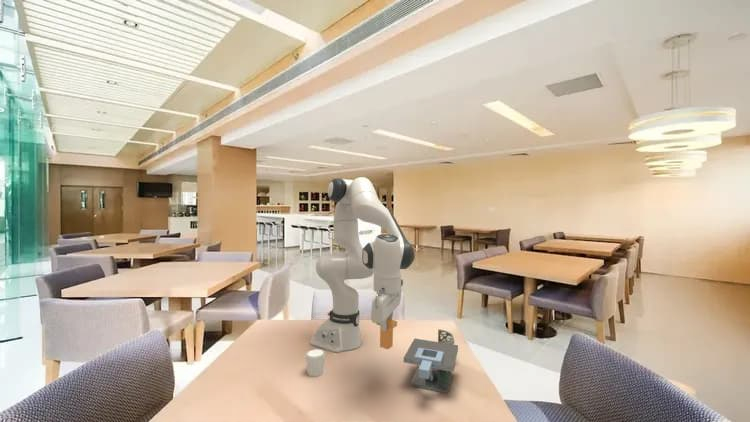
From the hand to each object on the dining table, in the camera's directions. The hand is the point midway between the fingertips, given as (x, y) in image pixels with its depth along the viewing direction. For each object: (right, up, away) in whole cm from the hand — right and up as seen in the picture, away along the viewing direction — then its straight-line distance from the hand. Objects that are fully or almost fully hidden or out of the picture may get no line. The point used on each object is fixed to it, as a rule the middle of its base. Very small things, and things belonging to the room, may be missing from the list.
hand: (386, 327), depth 100 cm
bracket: (+13, -12, -2) cm, 18 cm away
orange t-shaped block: (0, -6, 0) cm, 6 cm away
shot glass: (-25, -20, +10) cm, 34 cm away
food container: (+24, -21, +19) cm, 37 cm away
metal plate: (+16, -21, +6) cm, 27 cm away
